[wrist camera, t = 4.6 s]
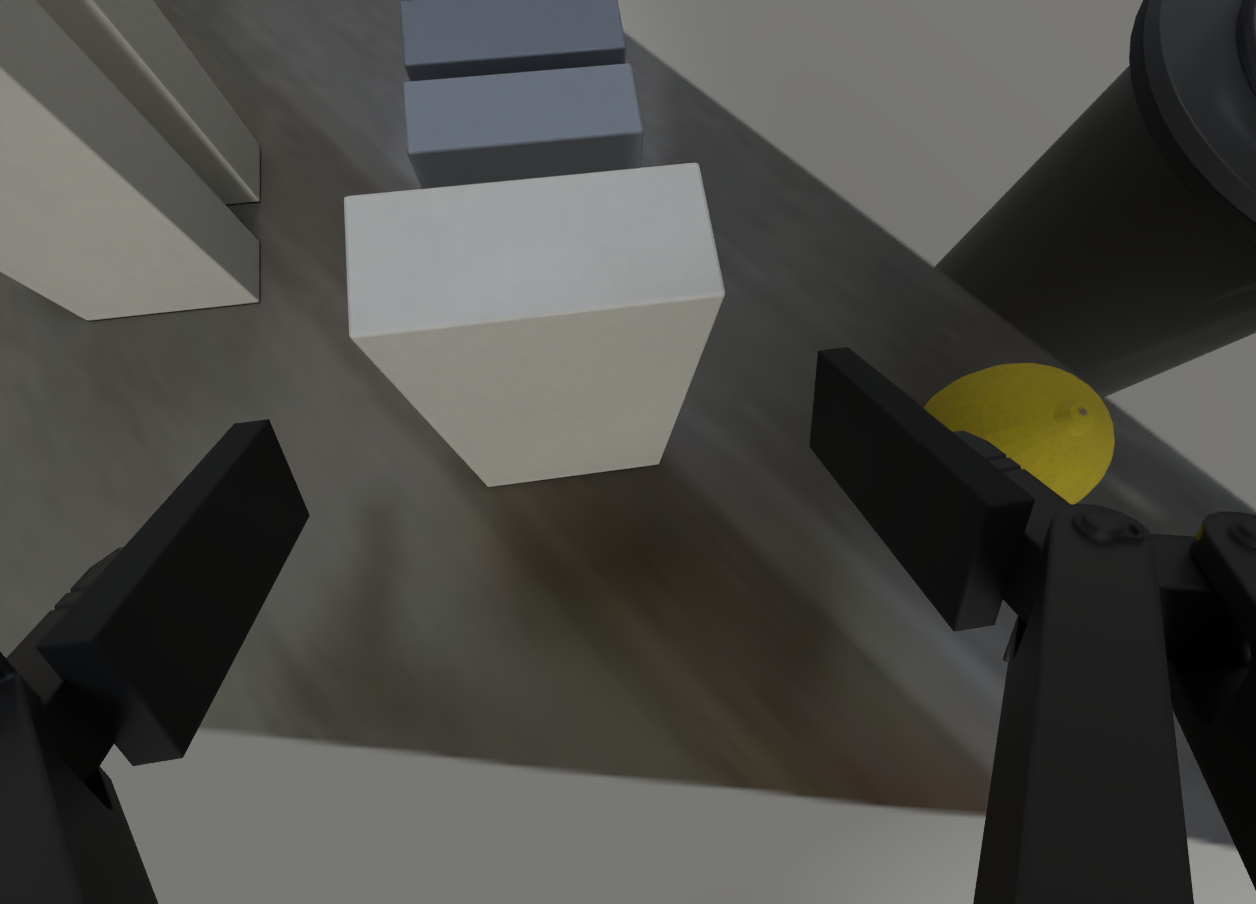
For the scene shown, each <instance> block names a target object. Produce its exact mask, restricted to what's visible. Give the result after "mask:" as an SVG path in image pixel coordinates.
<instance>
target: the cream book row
mask: <svg viewBox="0 0 1256 904" xmlns="http://www.w3.org/2000/svg"><path fill="white" fill-rule="evenodd" d="M257 201H260V145H259V144H258V142H257V141H256V140H255V138H254V137H253V136H252V134H251V133H250V132H249V130H248V129H247V127H246V126H245V125H244V123H243V122H242V121H241V119H240V118H239V117H238V115H237V114H236V113H235V111H234V110H233V108H232V107H231V106H230V104H229V103H228V102H227V100H226V99H225V98H224V96H223V95H222V93H221V92H220V91H219V89H218V88H217V87H216V85H215V84H214V83H213V81H212V80H211V79H210V77H209V76H208V74H207V73H206V72H205V70H204V69H203V68H202V66H201V65H200V64H199V62H198V61H197V60H196V58H195V57H194V55H193V54H192V53H191V51H190V50H189V49H188V47H187V46H186V45H185V43H184V42H183V40H182V39H181V38H180V36H179V35H178V34H177V32H176V31H175V30H174V28H173V27H172V26H171V24H170V23H169V21H168V20H167V19H166V17H165V16H164V15H163V13H162V12H161V11H160V9H159V8H158V7H157V5H156V4H155V2H154V1H153V0H0V272H2V273H3V274H5V275H7V276H9V277H10V278H12V279H14V280H16V281H18V282H19V283H21V284H23V285H25V286H26V287H28V288H30V289H32V290H34V291H35V292H37V293H39V294H41V295H42V296H44V297H46V298H48V299H50V300H51V301H53V302H55V303H57V304H58V305H60V306H62V307H64V308H66V309H67V310H69V311H71V312H73V313H74V314H76V315H78V316H80V317H82V318H83V319H85V320H99V319H108V318H117V317H126V316H136V315H145V314H154V313H164V312H173V311H182V310H191V309H201V308H210V307H219V306H229V305H238V304H247V303H256V302H259V241H258V239H257V238H256V237H255V236H254V235H253V234H252V233H251V232H250V231H249V230H248V229H247V228H246V227H245V225H244V224H243V223H242V222H241V221H240V220H239V219H238V218H237V217H236V216H235V215H234V214H233V213H232V211H231V210H230V209H229V208H228V207H227V206H226V204H236V203H246V202H257Z"/></svg>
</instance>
